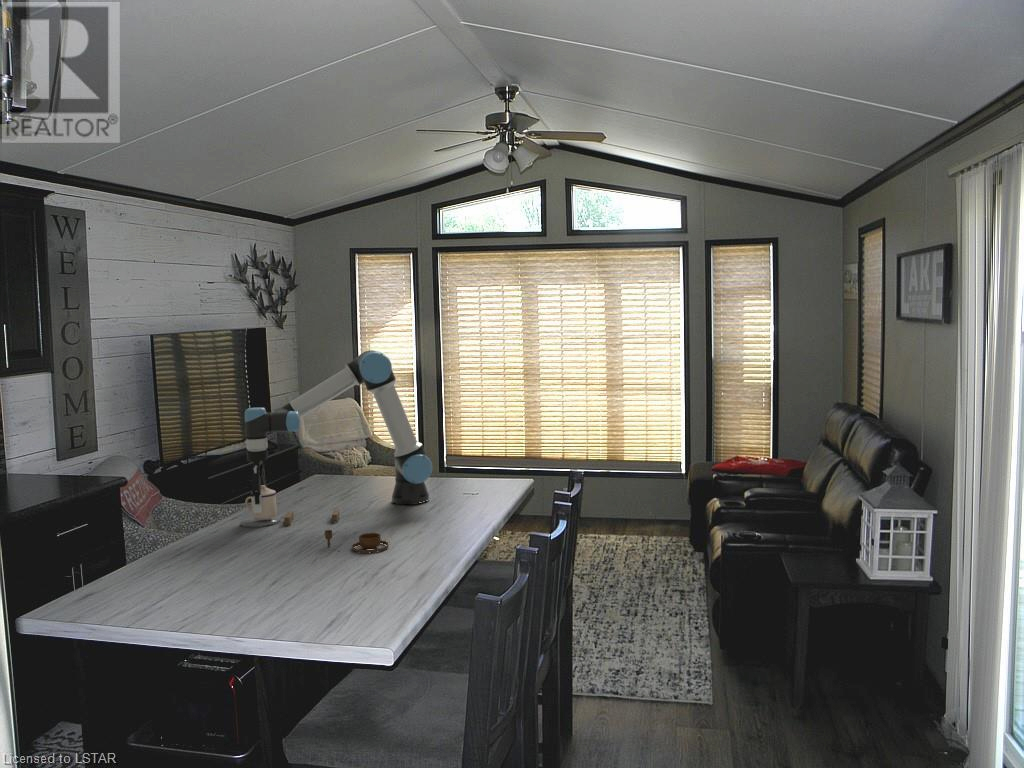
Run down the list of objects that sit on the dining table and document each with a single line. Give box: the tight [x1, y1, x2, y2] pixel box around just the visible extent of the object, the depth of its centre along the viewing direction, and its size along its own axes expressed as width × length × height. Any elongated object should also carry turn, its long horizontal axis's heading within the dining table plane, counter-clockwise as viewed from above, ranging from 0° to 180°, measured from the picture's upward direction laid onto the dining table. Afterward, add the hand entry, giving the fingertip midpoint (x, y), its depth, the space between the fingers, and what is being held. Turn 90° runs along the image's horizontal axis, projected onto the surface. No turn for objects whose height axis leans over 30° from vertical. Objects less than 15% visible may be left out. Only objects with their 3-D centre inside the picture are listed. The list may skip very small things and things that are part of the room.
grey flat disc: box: [240, 515, 281, 528], centre depth 310 cm, size 14×14×1 cm
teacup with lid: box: [244, 485, 278, 519], centre depth 310 cm, size 12×9×12 cm
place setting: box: [324, 529, 389, 554], centre depth 275 cm, size 18×20×6 cm
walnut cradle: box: [284, 507, 340, 526], centre depth 311 cm, size 19×10×3 cm, turn 98°
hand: (260, 509), depth 310 cm, fingers closed on teacup with lid, 9 cm apart
